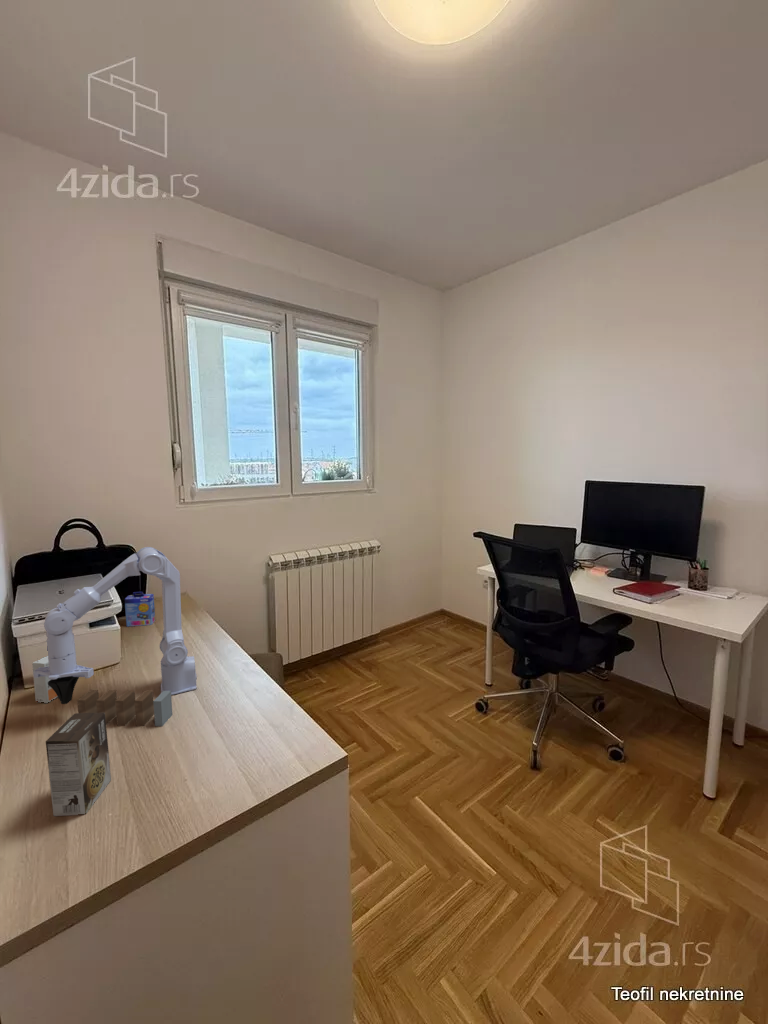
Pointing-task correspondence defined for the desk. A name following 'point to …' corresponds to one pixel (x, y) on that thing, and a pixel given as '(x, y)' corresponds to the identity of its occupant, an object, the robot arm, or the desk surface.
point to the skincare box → (43, 683)
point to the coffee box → (78, 763)
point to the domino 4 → (144, 707)
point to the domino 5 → (162, 708)
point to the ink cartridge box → (139, 609)
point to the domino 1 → (88, 702)
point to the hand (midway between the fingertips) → (66, 701)
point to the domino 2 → (107, 705)
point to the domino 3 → (125, 707)
